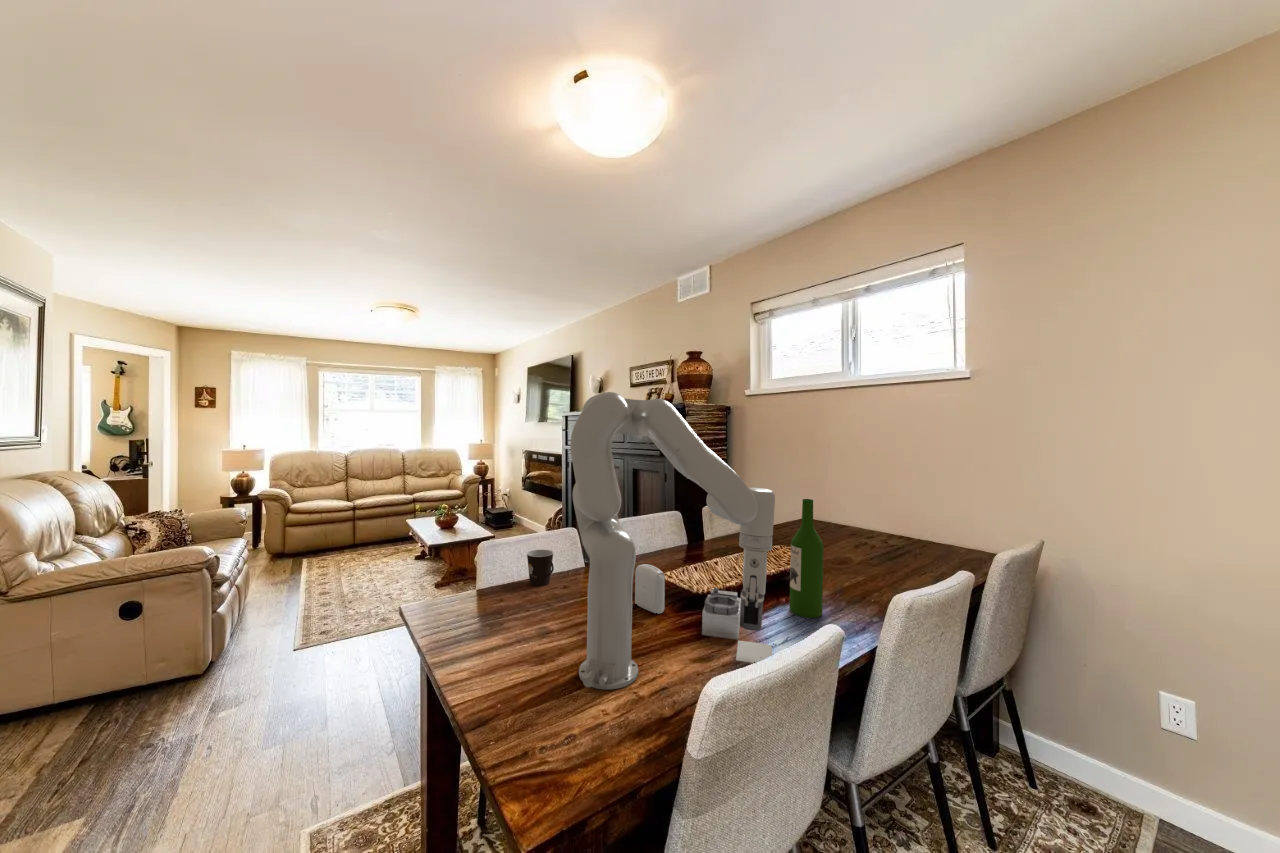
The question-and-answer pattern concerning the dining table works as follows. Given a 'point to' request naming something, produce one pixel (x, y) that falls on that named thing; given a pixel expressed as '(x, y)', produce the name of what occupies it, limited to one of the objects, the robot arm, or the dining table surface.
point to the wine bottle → (806, 567)
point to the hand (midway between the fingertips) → (750, 617)
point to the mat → (752, 651)
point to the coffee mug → (540, 567)
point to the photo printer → (650, 588)
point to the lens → (760, 605)
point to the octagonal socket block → (721, 614)
